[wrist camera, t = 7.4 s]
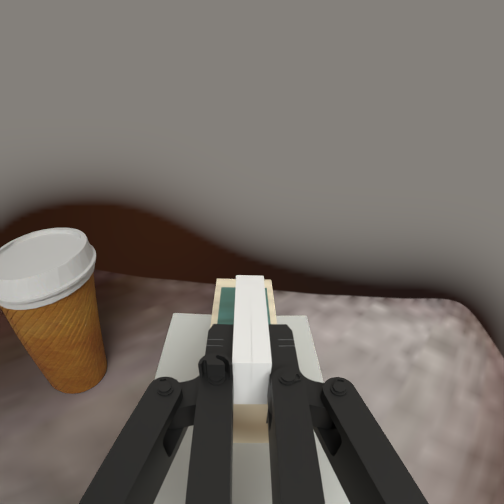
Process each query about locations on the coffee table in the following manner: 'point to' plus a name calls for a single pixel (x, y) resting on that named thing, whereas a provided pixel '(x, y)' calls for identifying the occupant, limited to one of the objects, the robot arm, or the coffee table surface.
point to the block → (244, 415)
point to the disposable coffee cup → (55, 305)
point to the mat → (244, 454)
